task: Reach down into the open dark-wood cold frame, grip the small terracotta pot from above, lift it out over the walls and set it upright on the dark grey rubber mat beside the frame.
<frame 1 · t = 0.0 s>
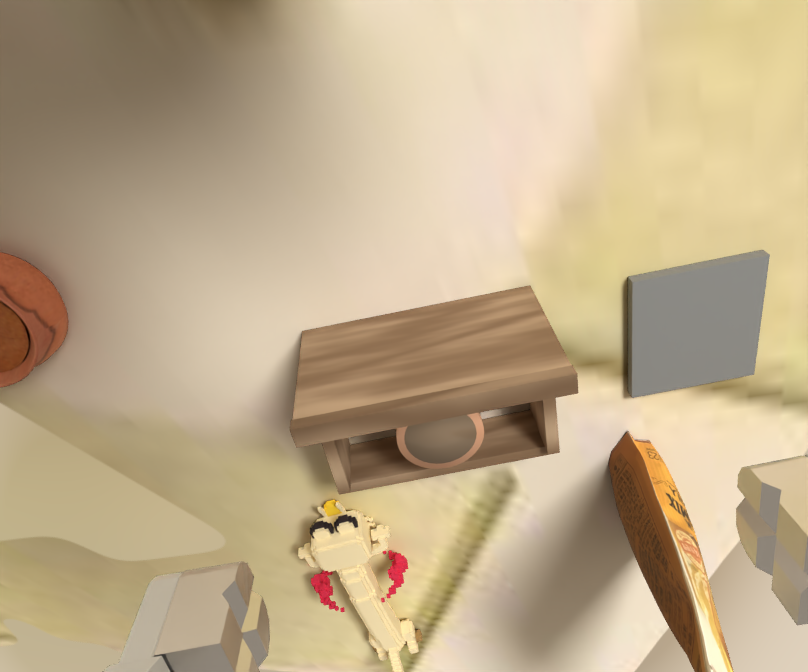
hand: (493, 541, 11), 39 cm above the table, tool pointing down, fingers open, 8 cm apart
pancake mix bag: (632, 487, 66), on the table
cold frame: (429, 376, 57), on the table
potted flower: (10, 309, 51), on the table
terracotta pot: (429, 375, 57), resting in cold frame
rubber mat: (691, 324, 56), on the table
cream toy figurine: (366, 568, 70), on the table
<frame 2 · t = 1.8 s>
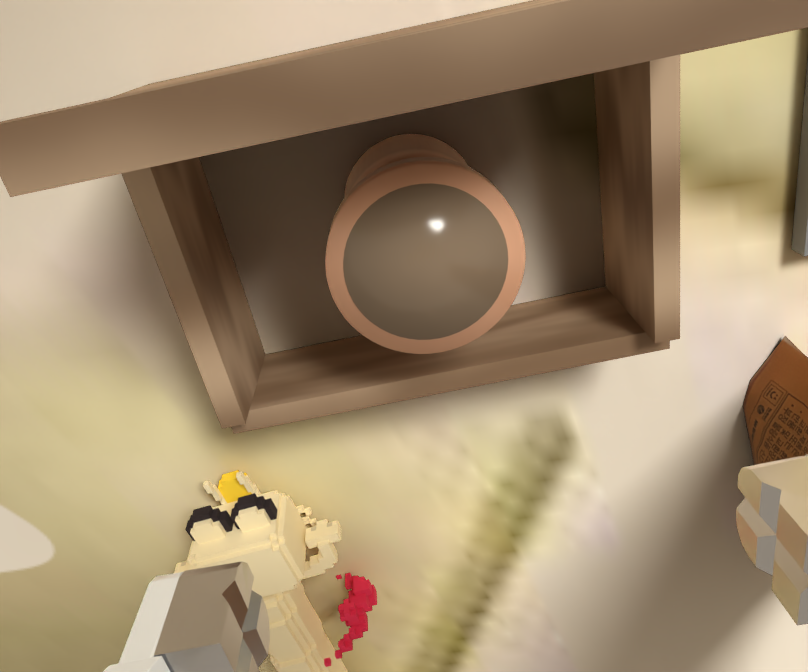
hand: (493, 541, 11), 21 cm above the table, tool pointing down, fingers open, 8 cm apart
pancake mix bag: (780, 457, 37), on the table
cold frame: (410, 202, 29), on the table
terracotta pot: (410, 202, 29), resting in cold frame
cream toy figurine: (310, 606, 41), on the table
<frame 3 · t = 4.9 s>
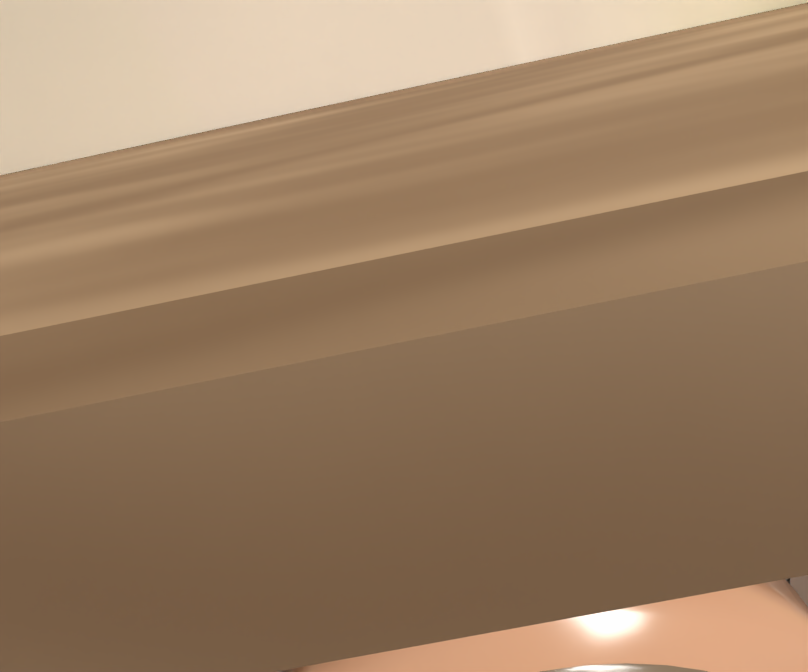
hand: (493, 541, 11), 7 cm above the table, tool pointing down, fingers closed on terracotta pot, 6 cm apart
cold frame: (450, 368, 17), on the table
terracotta pot: (463, 417, 14), point 3 cm above the table, touching gripper
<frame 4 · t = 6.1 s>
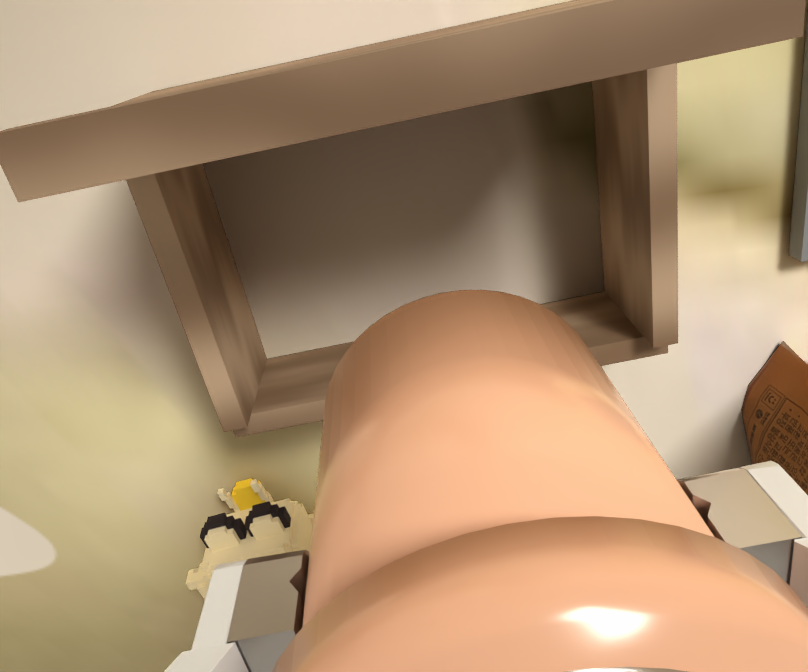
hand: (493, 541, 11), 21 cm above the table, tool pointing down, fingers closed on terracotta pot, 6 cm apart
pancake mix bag: (778, 461, 37), on the table
cold frame: (411, 208, 29), on the table
terracotta pot: (464, 418, 14), point 17 cm above the table, touching gripper
cream toy figurine: (319, 613, 41), on the table
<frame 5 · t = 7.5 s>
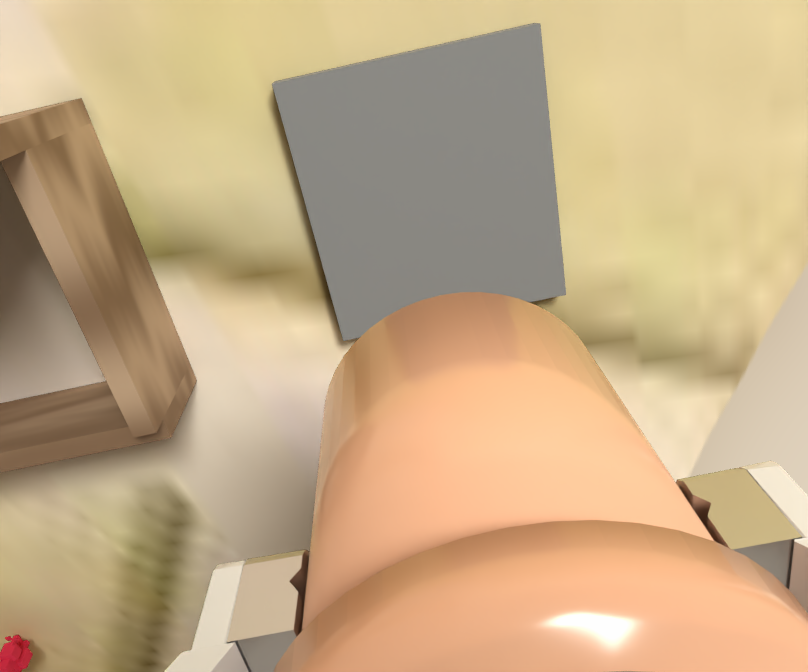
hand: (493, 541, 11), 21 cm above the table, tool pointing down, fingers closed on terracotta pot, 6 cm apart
terracotta pot: (463, 420, 14), point 18 cm above the table, touching gripper
rubber mat: (429, 192, 30), on the table
when the fingers open (6 cm above the table, at t = 11.1 s): terracotta pot drops 1 cm, resting on rubber mat.
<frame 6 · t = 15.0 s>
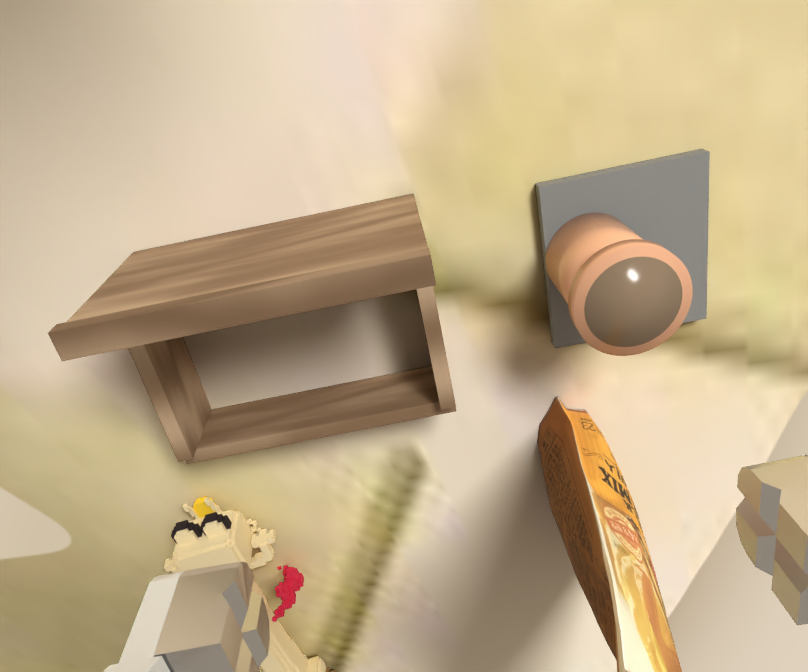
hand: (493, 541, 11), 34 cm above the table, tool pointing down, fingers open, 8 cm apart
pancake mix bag: (571, 475, 54), on the table
cold frame: (300, 317, 46), on the table
terracotta pot: (589, 255, 44), point 1 cm above the table, touching rubber mat
rubber mat: (622, 251, 45), on the table
cream toy figurine: (261, 589, 58), on the table
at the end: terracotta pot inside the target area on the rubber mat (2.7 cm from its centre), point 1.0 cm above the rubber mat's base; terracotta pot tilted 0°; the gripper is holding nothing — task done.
